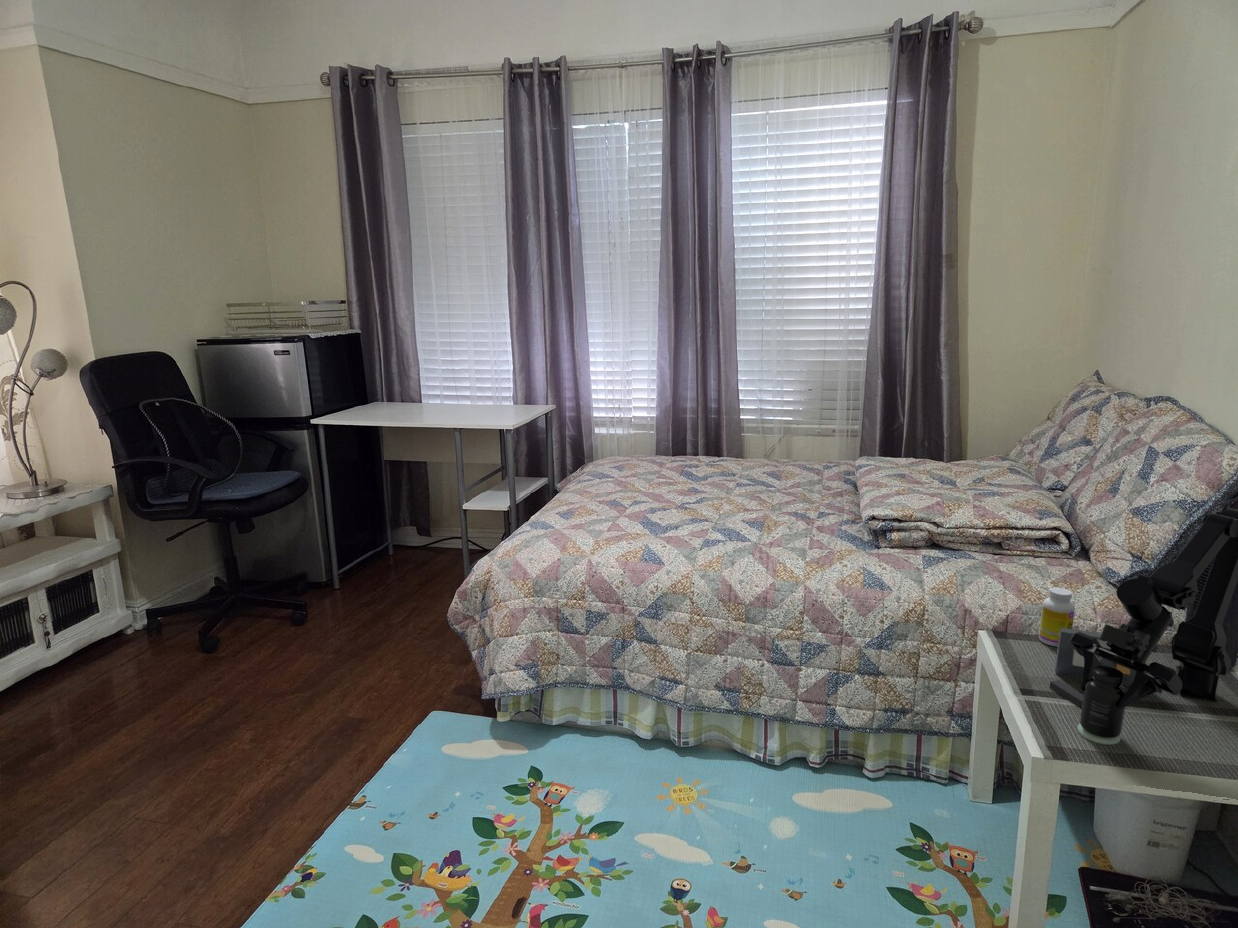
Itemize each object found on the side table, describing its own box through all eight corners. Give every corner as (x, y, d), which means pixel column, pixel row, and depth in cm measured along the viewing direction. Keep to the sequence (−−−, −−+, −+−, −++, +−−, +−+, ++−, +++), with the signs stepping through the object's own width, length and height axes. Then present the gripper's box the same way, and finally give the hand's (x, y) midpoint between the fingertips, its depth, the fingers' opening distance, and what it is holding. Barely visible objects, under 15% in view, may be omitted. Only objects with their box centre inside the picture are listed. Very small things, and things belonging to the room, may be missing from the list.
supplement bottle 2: (1129, 736, 150) (1139, 678, 147) (1099, 741, 149) (1109, 682, 146) (1099, 716, 157) (1108, 660, 154) (1070, 721, 155) (1079, 665, 152)
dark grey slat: (1049, 689, 170) (1050, 681, 170) (1058, 687, 171) (1059, 679, 170) (1103, 723, 157) (1104, 715, 157) (1112, 722, 158) (1114, 714, 157)
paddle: (1085, 664, 173) (1087, 647, 172) (1085, 667, 171) (1088, 650, 170) (1072, 662, 173) (1074, 645, 173) (1073, 665, 172) (1075, 648, 171)
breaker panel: (1139, 683, 172) (1146, 640, 169) (1141, 689, 169) (1148, 645, 167) (1054, 669, 178) (1060, 627, 175) (1055, 674, 175) (1061, 632, 173)
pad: (1117, 729, 154) (1117, 726, 154) (1122, 748, 148) (1123, 745, 148) (1075, 721, 157) (1076, 718, 157) (1079, 739, 151) (1080, 736, 151)
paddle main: (1128, 671, 169) (1131, 654, 169) (1129, 674, 168) (1132, 656, 167) (1115, 669, 170) (1117, 652, 169) (1116, 672, 169) (1118, 654, 168)
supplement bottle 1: (1068, 650, 187) (1075, 598, 184) (1036, 643, 190) (1043, 592, 187) (1071, 639, 192) (1078, 589, 189) (1040, 633, 196) (1046, 583, 193)
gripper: (1080, 592, 157) (1038, 657, 154) (1183, 629, 141) (1137, 702, 138) (1100, 621, 162) (1059, 684, 160) (1201, 659, 146) (1157, 730, 144)
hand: (1100, 698), depth 150 cm, fingers closed on supplement bottle 2, 7 cm apart
